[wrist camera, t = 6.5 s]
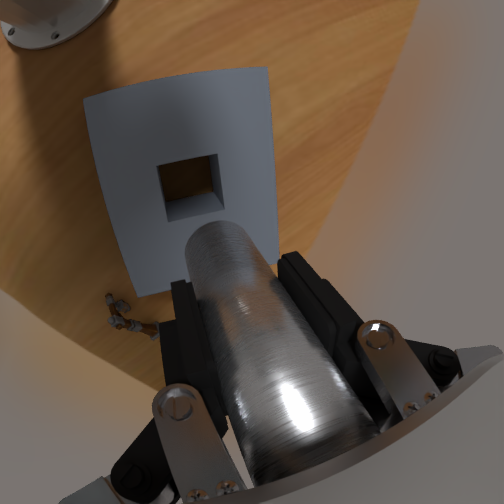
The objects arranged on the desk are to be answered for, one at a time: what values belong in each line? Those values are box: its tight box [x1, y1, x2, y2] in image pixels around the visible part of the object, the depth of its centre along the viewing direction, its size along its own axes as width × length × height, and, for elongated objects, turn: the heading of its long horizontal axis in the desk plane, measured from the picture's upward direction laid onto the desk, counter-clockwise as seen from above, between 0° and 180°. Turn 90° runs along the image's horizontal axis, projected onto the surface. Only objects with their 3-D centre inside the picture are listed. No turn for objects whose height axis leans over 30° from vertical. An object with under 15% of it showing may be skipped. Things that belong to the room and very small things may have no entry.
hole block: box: [83, 67, 279, 298], centre depth 24 cm, size 18×14×5 cm
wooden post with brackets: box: [105, 293, 159, 341], centre depth 30 cm, size 2×8×4 cm, turn 34°
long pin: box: [185, 220, 381, 488], centre depth 9 cm, size 3×3×11 cm
